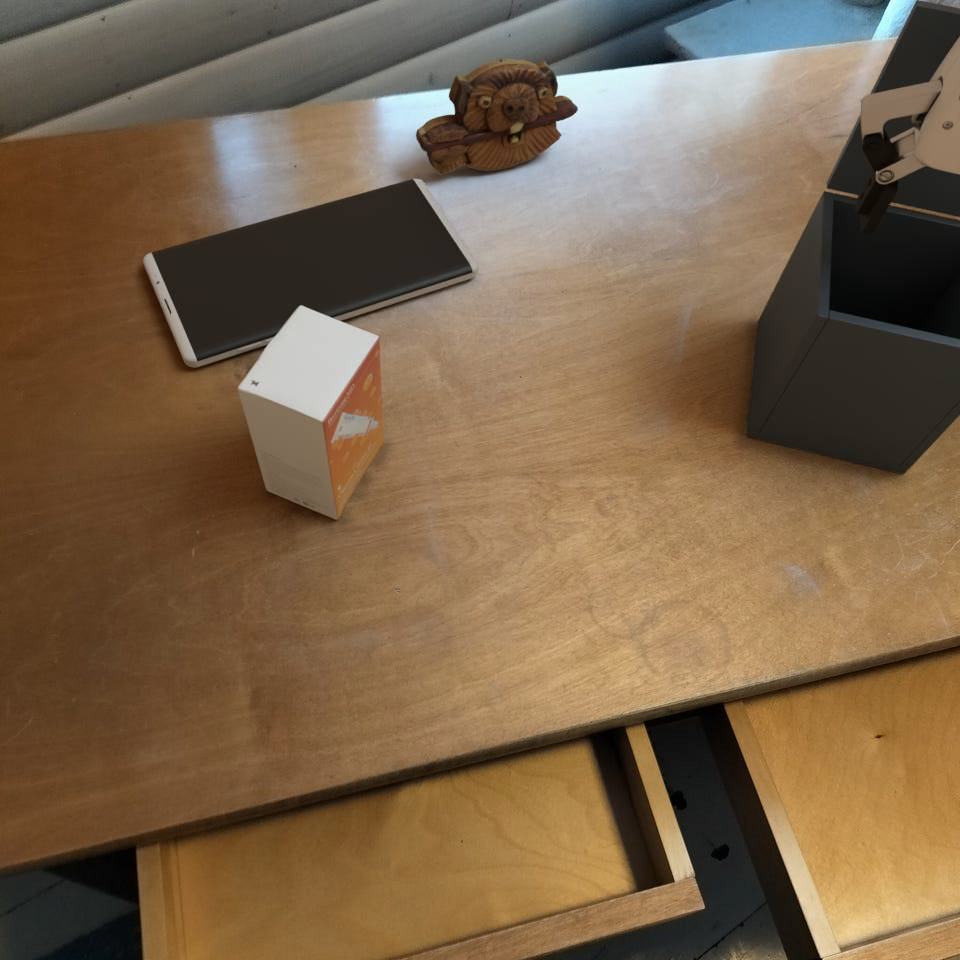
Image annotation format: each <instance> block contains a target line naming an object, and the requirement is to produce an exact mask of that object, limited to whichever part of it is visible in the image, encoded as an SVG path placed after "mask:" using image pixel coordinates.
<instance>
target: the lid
mask: <svg viewBox="0 0 960 960" xmlns="http://www.w3.org/2000/svg"><path fill="white" fill-rule="evenodd" d="M959 37H960V6H950V5H946V4H939V3H935V2H929V1H924V0H916V1H915V2H914V4H913V7H911V11H910V13H909V14H908V16H907V18H906V21H905V22H904V25H903V27H902V29H901V31H900V33H899V35H898V36H897V38H896V41H895V42H894V45H893V47H892V49H891V51H890V53H889V55H888V57H887V59H886V61H885V63H884V65H883V67H882V69H881V71H880V73H879V75H878V77H877V79H876V81H875V84H874V85H873V87H872V90H871V91H870V93H869V94H874V93H878V92H883V91H888V90H893V89H897V88H902V87H907V86H911V85H916V84H921V83H926V82H929V81H930V80H931V78H932V77H933V75H934V74H935V72H936V70H937V69H938V67H939V66H940V64H941V63H942V61H943V60H944V58H945V57H946V55H947V54H948V53H949V51H950V50H951V48H952V47H953V45H954V44H955V42H956V41H957V40H958V38H959ZM911 122H912V115H910V116H905V117H900V118H895V119H891V120H888V121H887V122H885V124H884V125H883V127H884V129H885V131H886V133H887V135H888V137H889V139H891V138H893V137H895V136H897V135H899V134H901V133H903V132H905V131H907V130H909V129H910V128H912V127H914V126H916V124H915V123H911ZM872 170H873V168H872V166H871V164H870V162H869V161H868V159H867V157H866V155H865V153H864V151H863V144H862V132H861V119H860V115H859V116H858V118H857V120H856V121H855V123H854V125H853V128H852V130H851V132H850V134H849V136H848V138H847V140H846V142H845V144H844V146H843V148H842V150H841V152H840V155H839V156H838V158H837V160H836V162H835V164H834V166H833V168H832V170H831V173H830V174H829V176H828V179H827V181H826V189H828V190H831V191H835V192H842V193H846V194H851V195H855V196H859V194H860V192H861V190H862V188H863V187H864V185H865V183H866V181H867V179H868V177H869V176H870V174H871V172H872ZM891 204H896V205H901V206H905V207H912V208H916V209H920V210H925V211H929V212H934V213H935V212H936V213H938V214H944V215H948V216H953V217H958V218H960V175H959V174H955V173H950V172H945V171H941V170H937V169H933V168H930V167H928V166H925V167H923V168H921V169H919V170H917V171H915V172H913V173H911V174H908V175H906V176H904V177H902V178H900V179H898V190H897V193H896V195H895V197H894V198H893V200H892V202H891Z"/></svg>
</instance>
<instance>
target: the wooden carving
mask: <svg viewBox="0 0 960 960" xmlns="http://www.w3.org/2000/svg"><path fill="white" fill-rule="evenodd" d="M557 80H558V79H557V76H556V74H555V72H554V71H553V70H552V69H551V68H550V67H549V64H548V63H547V62H546V60H544V61H540V62H537V63H533V62H532V61H528V60H524V59H514V58H502V59H497V60H494V61H493V60H492V61H488V62H486V63H484V64H482V65H480V66H478V67H476V68H474V69H473V70H471V72H469V73H467V74H466V75H464V76H463V75H460V74H459V75H455V77H454V79H453V82H452V84H451V86H450V89H449V93H448V98H449V101H450V102H451V103H452V104H453V107H454V114H443V115H440V116H437V117H433V118H432V119H431V118H430V119H429V120H427V121H426V122H425V123H424V124H423V125H421V126H420V127H419V128H418V129H417V130H416V132H415V138H416V142H417V143H418V145H419V146H420V149H421V150H422V151H423V152H426V156H427V160H428V162H429V164H430V165H431V167H432V168H433V169H434V170H435V171H436V173H437V174H438V175H446V174H450V173H451V172H454V171H455V170H457V169H459V168H461V167H462V166H464V165H465V166H466V167H468V168H471V169H473V170H477V171H486V172H487V171H500V170H504V169H510V168H512V167H516V166H519V165H520V164H523V163H525V162H528V161H530V160H532V159H533V158H535V157H538V156H539V155H540V154H542V153H543V152H545V151H547V149H549V148H550V147H551V146H552V145H554V144H556V143H557V142H558V141H560V139H561V137H562V133H561V132H560V131H559V129H558V128H557V122H560V121H564V120H566V119H569V118H571V117H573V116H574V115H575V114H577V112H578V111H579V107H578V106H577V104H575V103H574V102H573V100H572V99H571V98H570V97H568V96H565V95H557V94H558V90H559V89H558V88H559V83H558V81H557Z"/></svg>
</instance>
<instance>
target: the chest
mask: <svg viewBox="0 0 960 960" xmlns="http://www.w3.org/2000/svg"><path fill="white" fill-rule="evenodd" d="M857 198H858V197H854V196H849V195H845V194H841V193H834V192H831V191H825V190H824V191H822V193H821V196H820V197H819V200H818V201H817V204H816V206H815V207H814V209H813V212H812V213H811V216H810V218H809V219H808V221H807V223H806V226H805V228H804V229H803V232H802V233H801V235H800V237H799V239H798V241H797V243H796V245H795V247H794V249H793V251H792V253H791V254H790V257H789V258H788V261H787V263H786V264H785V266H784V269H783V270H782V272H781V275H780V276H779V278H778V281H777V282H776V284H775V286H774V288H773V290H772V292H771V294H770V296H769V298H768V300H767V302H766V304H765V306H764V308H763V310H762V312H761V314H760V316H759V318H758V320H757V322H756V330H755V331H756V332H755V340H754V341H755V342H754V350H753V360H752V370H751V380H750V390H749V400H748V409H747V418H746V419H747V420H746V428H745V429H746V430H745V438H748V439H749V438H750V439H754V440H757V441H763V442H767V443H769V444H770V443H771V444H775V445H778V446H779V445H780V446H784V447H787V448H791V449H795V450H796V449H797V450H800V451H804V452H808V453H812V454H817V455H822V456H825V457H828V458H829V457H830V458H833V459H837V460H842V461H846V462H851V463H855V464H858V465H863V466H868V467H870V468H871V467H873V468H876V469H881V470H884V471H888V472H892V473H897V474H901V475H905V474H906V473H907V472H908V471H909V470H910V469H911V468H912V467H913V466H914V465H915V464H916V463H917V461H918V460H920V458H921V457H922V456H923V455H924V454H925V453H926V452H927V451H928V450H929V449H930V448H931V447H932V446H933V444H934V443H935V442H936V441H937V440H939V438H940V437H941V436H942V435H943V434H944V433H945V432H946V431H947V430H948V428H950V427H951V425H952V424H953V423H954V422H955V421H956V420H957V419H958V418H959V417H960V219H957V218H952V217H947V216H942V215H939V214H933V213H929V212H924V211H920V210H915V209H910V208H906V207H901V206H896V205H893V204H890V205H889V207H888V208H887V210H886V212H885V213H884V215H883V217H882V218H881V220H880V222H879V223H878V225H877V227H876V228H875V230H874V232H873V233H870V234H869V235H866V234H861V233H860V217H861V214H859V213H856V212H855V206H856V201H857Z"/></svg>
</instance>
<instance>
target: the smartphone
mask: <svg viewBox="0 0 960 960" xmlns="http://www.w3.org/2000/svg"><path fill="white" fill-rule="evenodd" d="M142 263H143V267H144V268H145V271H146V274H147V276H148V278H149V281H150V283H151V286H152V288H153V290H154V293H155V295H156V297H157V300H158V303H159V305H160V307H161V310H162V313H163V315H164V317H165V320H166V322H167V324H168V327H169V329H170V331H171V334H172V336H173V338H174V341H175V344H176V346H177V348H178V350H179V353H180V355H181V358H182V360H183V362H184V364H185V365H186V366H187V367H190V368H194V369H195V368H200V367H204V366H206V365H209V364H212V363H215V362H219V361H222V360H224V359H228V358H231V357H234V356H238V355H240V354H244V353H246V352H249V351H252V350H255V349H258V348H261V347H264V346H267V345H268V344H269V343H270V341H271V340H272V339H273V338H274V337H275V336H276V335H277V333H278V332H279V331H280V329H281V328H282V327H283V326H284V324H285V323H286V322H287V320H288V319H289V318H290V317H291V315H292V314H293V313H294V311H295V310H296V309H297V308H298V307H299V306H300V305H301V306H304V307H307V308H309V309H311V310H314V311H316V312H319V313H321V314H324V315H326V316H329V317H331V318H334V319H336V320H339V321H341V322H343V321H345V320H348V319H351V318H354V317H357V316H360V315H363V314H366V313H370V312H372V311H375V310H379V309H381V308H384V307H387V306H392V305H394V304H397V303H401V302H404V301H406V300H409V299H412V298H415V297H419V296H422V295H425V294H427V293H431V292H434V291H437V290H440V289H443V288H446V287H450V286H452V285H455V284H458V283H462V282H465V281H467V280H471V279H473V278H475V277H477V276H478V274H479V267H480V266H479V262H478V260H477V259H476V257H475V256H474V254H473V253H472V251H471V250H470V248H469V247H468V246H467V244H466V243H465V241H464V240H463V238H462V237H461V235H460V234H459V232H458V230H457V228H455V226H454V225H453V223H452V222H451V220H450V219H449V217H448V216H447V214H446V213H445V211H444V210H443V208H442V207H441V206H440V204H439V203H438V201H437V200H436V198H435V197H434V195H433V193H432V192H431V191H430V189H429V188H428V186H427V185H426V183H425V181H423V180H422V179H420V178H410V179H407V180H403V181H400V182H396V183H393V184H389V185H386V186H382V187H378V188H376V189H372V190H368V191H364V192H361V193H358V194H357V193H356V194H354V195H350V196H346V197H342V198H340V199H336V200H333V201H329V202H325V203H322V204H318V205H313V206H311V207H307V208H304V209H300V210H296V211H294V212H290V213H286V214H283V215H279V216H276V217H272V218H268V219H264V220H262V221H258V222H254V223H251V224H247V225H244V226H240V227H237V228H233V229H230V230H226V231H223V232H219V233H215V234H211V235H208V236H205V237H201V238H198V239H194V240H190V241H187V242H184V243H180V244H176V245H173V246H170V247H166V248H162V249H158V250H155V251H152V252H149V253H147V254H146V255H145V256H144V257H143V260H142Z"/></svg>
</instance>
